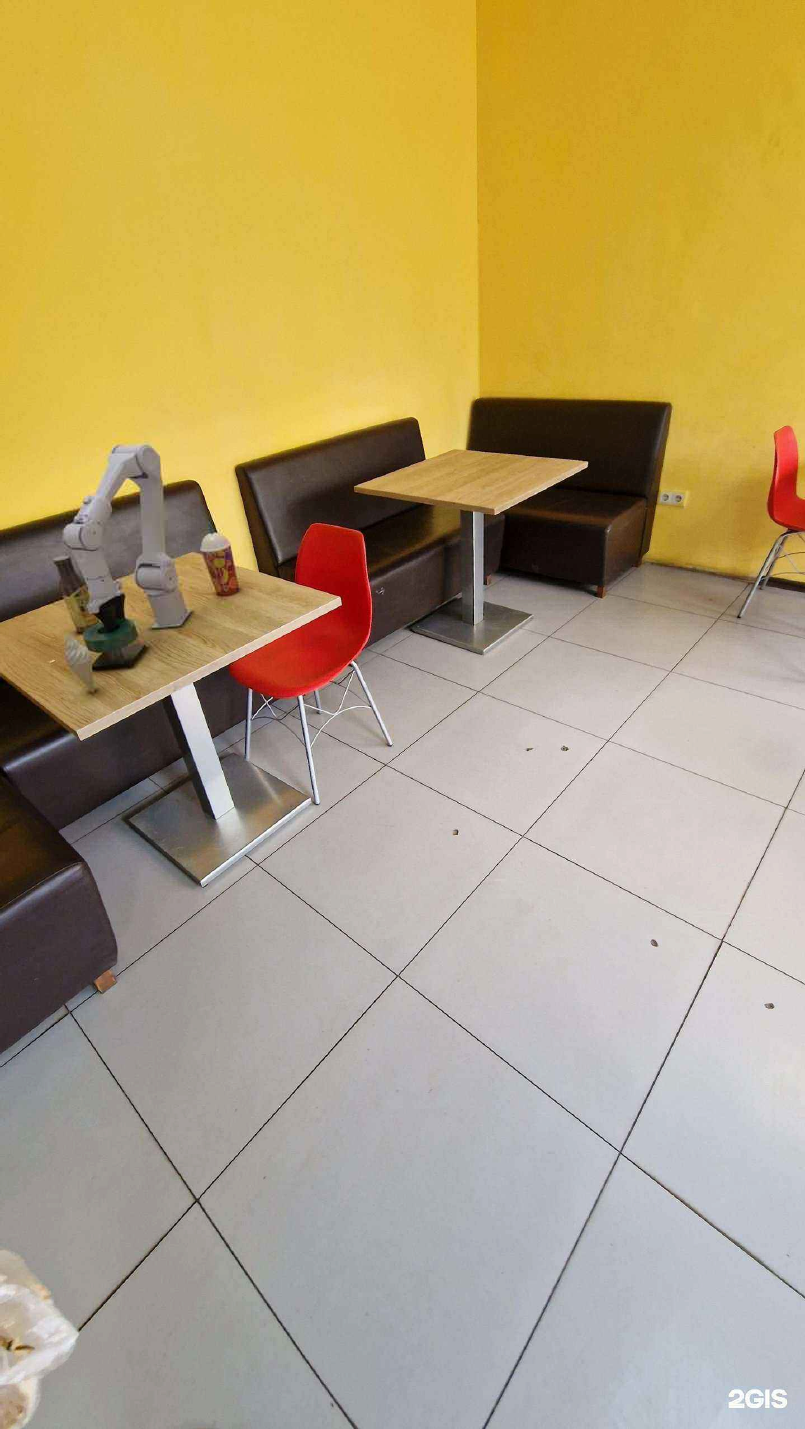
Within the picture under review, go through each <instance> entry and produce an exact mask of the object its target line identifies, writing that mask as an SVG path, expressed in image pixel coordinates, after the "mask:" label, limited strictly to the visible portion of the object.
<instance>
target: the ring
mask: <svg viewBox="0 0 805 1429" xmlns="http://www.w3.org/2000/svg"><path fill="white" fill-rule="evenodd" d="M116 621H117V624H118V628H119V629H118V630H116V631H114V632H111V633H110V632H109V631H108V630H107V628H106V627H105V626H104V624H103V623H102V622H101V621H99V623H97V624H95V625H93V626H91V627H89V628H88V629H87V630H86V631H85V632H84V633H82V639H83V641H84V644H85V647H86V648H87V649H88V652H91V653H96V654H99V653H100V654H102V652H111V651H114V650H117V649H121V648H124V647H126V646H127V645H132V644H133V643H135V641H136V640H137V639H138V638H139V633H138V630H137V627H136V625H135V623H134V621H133V619H130V618H126V617H125V618H117V619H116Z"/></svg>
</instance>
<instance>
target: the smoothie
mask: <svg viewBox="0 0 805 1429" xmlns="http://www.w3.org/2000/svg"><path fill="white" fill-rule="evenodd" d="M207 525H208V530H209V533H207V534H206V535H205V536H204V537H203V539H202V540H201V544H200V545H201V546H200V551H201V554H202V557H203V561H204V563H205V566H206V568H207V571H208V575H209V578H210V579H211V583H212V585H213V588H214V591H216V592H217V594H218V595H220V596H229V595H233V594H235V593H236V592H237V591H238V588H239V580H238V576H237V572H236V566H235V561H234V557H233V556H234V555H233V551H232V545H231V544H232V543H231V542H230V541H229V540H228V538H226V536H225V535H223V534H221V533H219V532H214V531H213V527H212V523H211V522H208V523H207Z"/></svg>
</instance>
